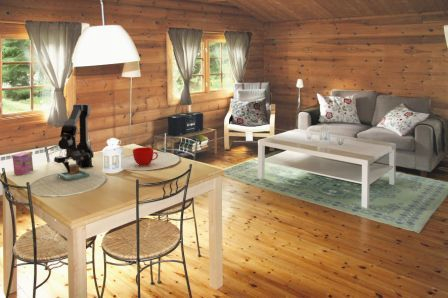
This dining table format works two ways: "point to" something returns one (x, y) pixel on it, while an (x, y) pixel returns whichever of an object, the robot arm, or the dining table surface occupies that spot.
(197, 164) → the dining table surface
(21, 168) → the box
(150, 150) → the ceramic cup
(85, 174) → the tray
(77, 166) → the cube
